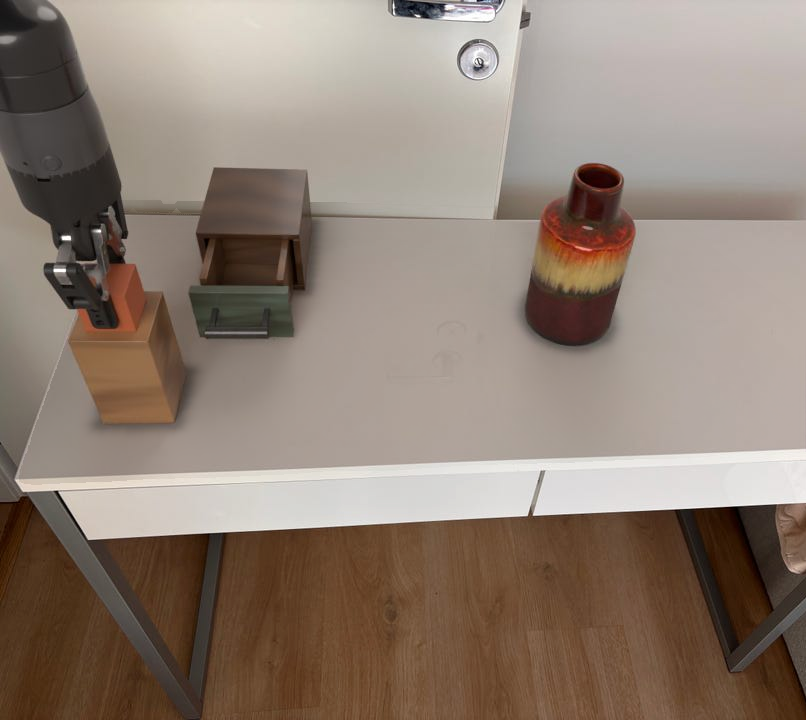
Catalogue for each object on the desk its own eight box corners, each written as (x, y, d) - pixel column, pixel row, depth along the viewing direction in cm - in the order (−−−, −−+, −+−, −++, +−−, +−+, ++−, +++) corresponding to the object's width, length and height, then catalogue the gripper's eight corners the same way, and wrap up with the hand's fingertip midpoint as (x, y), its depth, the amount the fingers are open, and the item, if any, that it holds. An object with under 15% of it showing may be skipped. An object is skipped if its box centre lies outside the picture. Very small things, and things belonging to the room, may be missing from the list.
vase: (521, 340, 91) (546, 198, 76) (527, 282, 98) (550, 143, 84) (610, 352, 91) (652, 212, 76) (609, 293, 98) (647, 155, 84)
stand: (174, 423, 78) (147, 341, 70) (103, 424, 77) (67, 341, 69) (186, 373, 83) (162, 291, 74) (119, 373, 82) (87, 290, 73)
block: (136, 332, 70) (124, 295, 67) (85, 332, 70) (70, 295, 66) (146, 299, 73) (135, 263, 70) (98, 299, 73) (84, 262, 70)
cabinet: (305, 290, 94) (299, 234, 88) (208, 289, 92) (195, 232, 86) (312, 224, 103) (307, 169, 97) (224, 222, 102) (213, 167, 95)
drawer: (290, 364, 84) (284, 319, 79) (193, 364, 83) (180, 319, 78) (301, 267, 95) (296, 223, 90) (216, 266, 94) (206, 222, 89)
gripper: (33, 97, 63) (91, 258, 75) (-32, 197, 53) (48, 363, 65) (127, 101, 64) (170, 259, 76) (81, 199, 54) (139, 363, 66)
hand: (113, 306), depth 71 cm, fingers closed on block, 4 cm apart
